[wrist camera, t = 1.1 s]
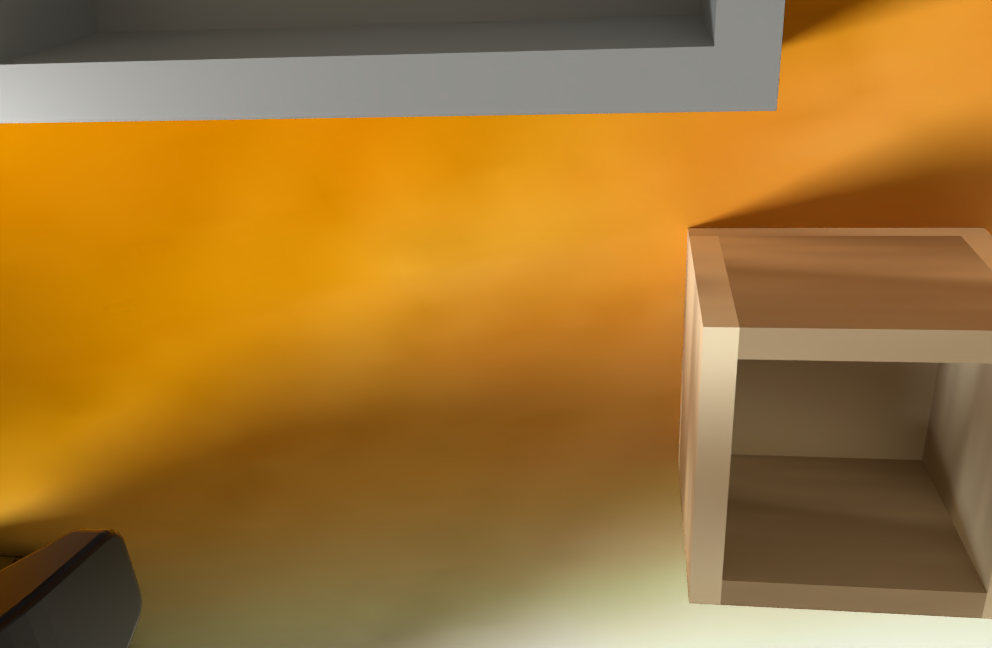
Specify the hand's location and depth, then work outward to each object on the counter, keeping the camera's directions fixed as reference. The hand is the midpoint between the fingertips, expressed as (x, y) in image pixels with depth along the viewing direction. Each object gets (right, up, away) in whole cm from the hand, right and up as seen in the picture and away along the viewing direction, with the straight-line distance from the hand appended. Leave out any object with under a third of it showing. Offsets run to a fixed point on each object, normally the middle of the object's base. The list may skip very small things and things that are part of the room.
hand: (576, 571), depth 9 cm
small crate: (+7, +2, +13) cm, 14 cm away
